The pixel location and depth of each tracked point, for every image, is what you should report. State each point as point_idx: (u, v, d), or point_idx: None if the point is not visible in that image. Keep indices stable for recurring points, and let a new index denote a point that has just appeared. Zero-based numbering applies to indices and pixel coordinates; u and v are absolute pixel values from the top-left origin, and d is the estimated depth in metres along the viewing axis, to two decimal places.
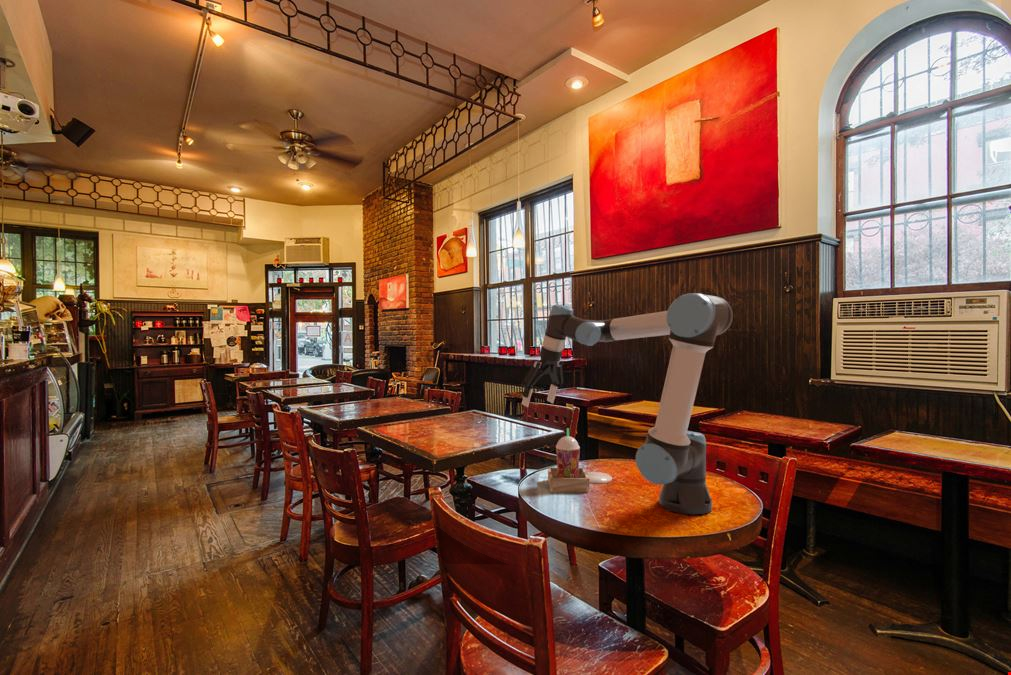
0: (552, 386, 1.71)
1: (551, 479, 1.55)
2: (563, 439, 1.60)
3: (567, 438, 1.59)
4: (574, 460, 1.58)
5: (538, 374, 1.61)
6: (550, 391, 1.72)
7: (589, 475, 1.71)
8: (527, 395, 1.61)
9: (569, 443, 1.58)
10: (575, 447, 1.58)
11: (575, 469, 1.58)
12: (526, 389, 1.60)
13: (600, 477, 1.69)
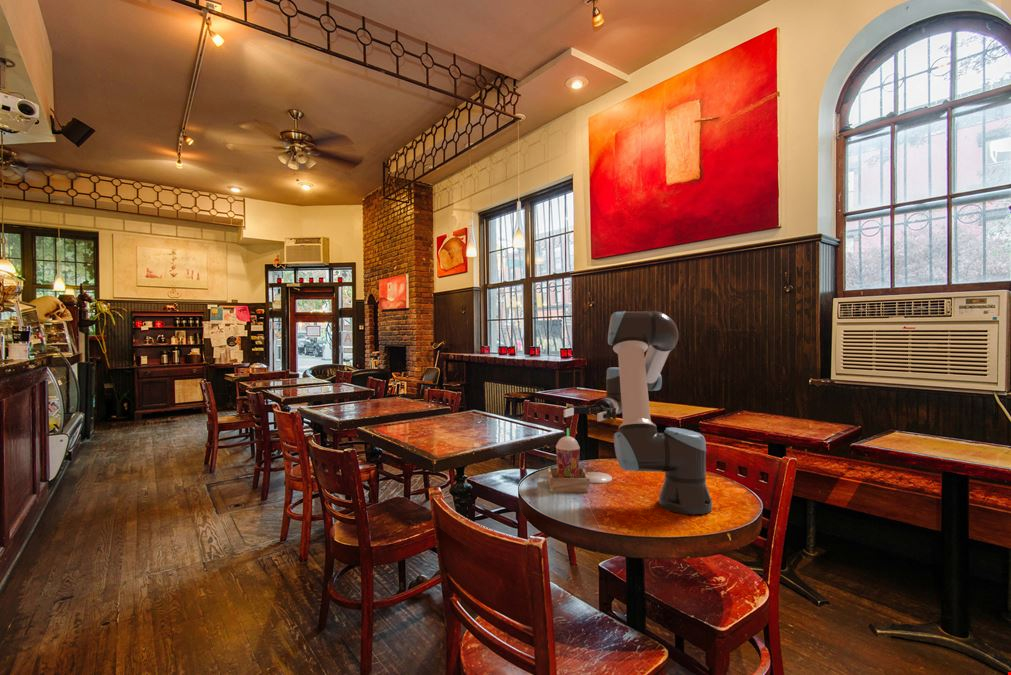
0: None
1: (551, 479, 1.55)
2: (563, 439, 1.60)
3: (567, 438, 1.59)
4: (574, 460, 1.58)
5: None
6: None
7: (589, 475, 1.71)
8: None
9: (569, 443, 1.58)
10: (575, 447, 1.58)
11: (575, 469, 1.58)
12: None
13: (600, 477, 1.69)
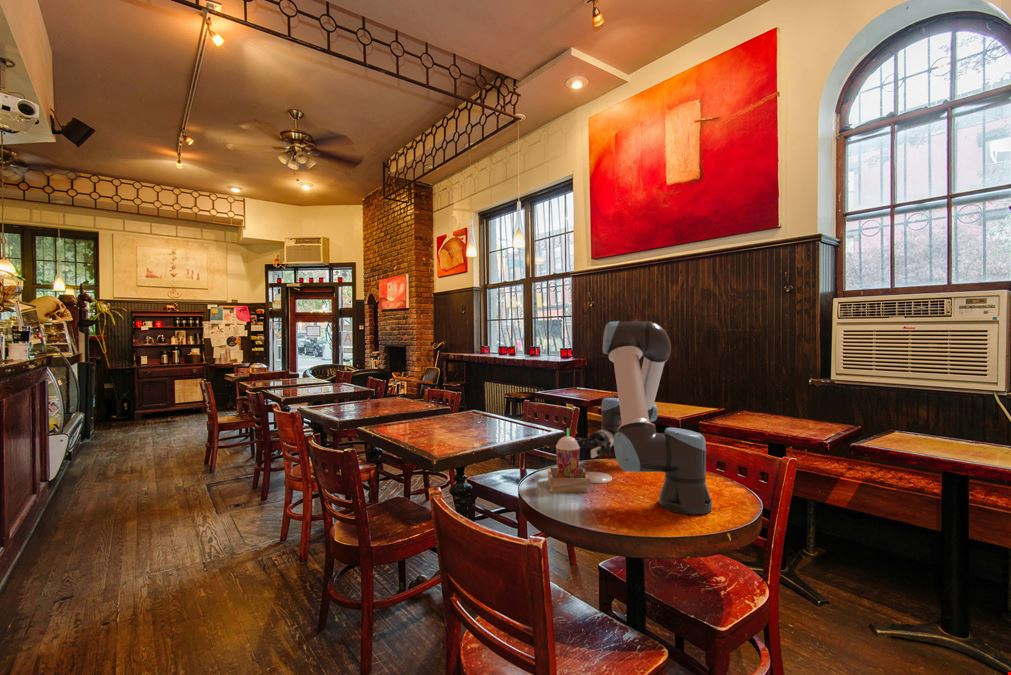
0: None
1: (551, 479, 1.55)
2: (563, 439, 1.60)
3: (567, 438, 1.59)
4: (574, 460, 1.58)
5: None
6: None
7: (589, 475, 1.71)
8: None
9: (569, 443, 1.58)
10: (575, 447, 1.58)
11: (575, 469, 1.58)
12: None
13: (600, 477, 1.69)
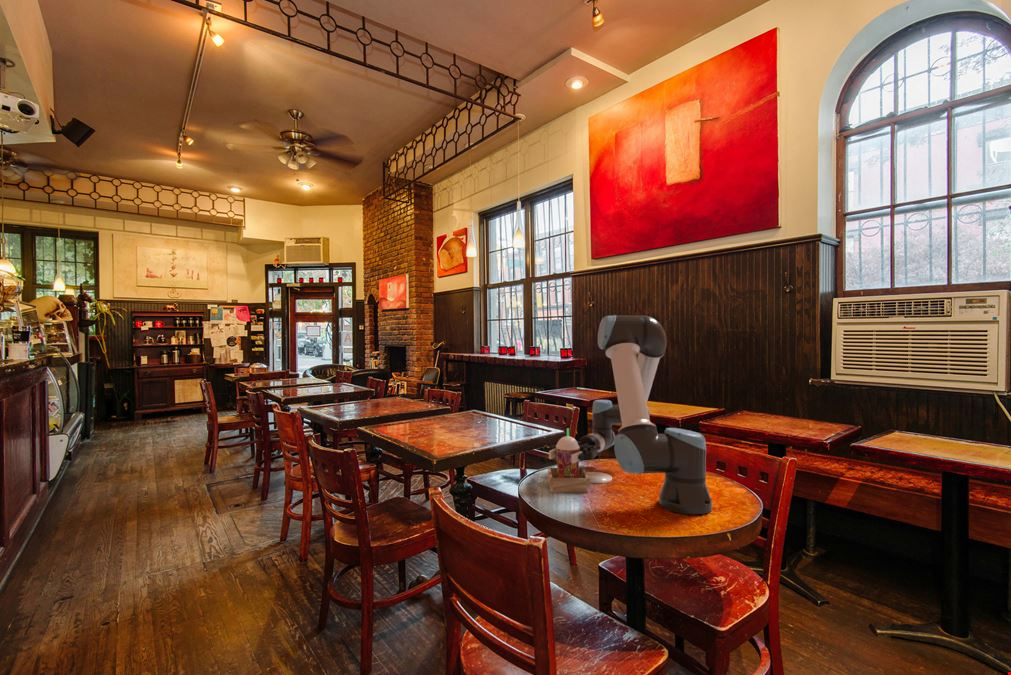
0: None
1: (551, 479, 1.55)
2: (563, 439, 1.60)
3: (567, 438, 1.59)
4: None
5: None
6: None
7: (589, 475, 1.71)
8: None
9: (569, 443, 1.58)
10: (575, 447, 1.58)
11: (575, 469, 1.58)
12: None
13: (600, 477, 1.69)
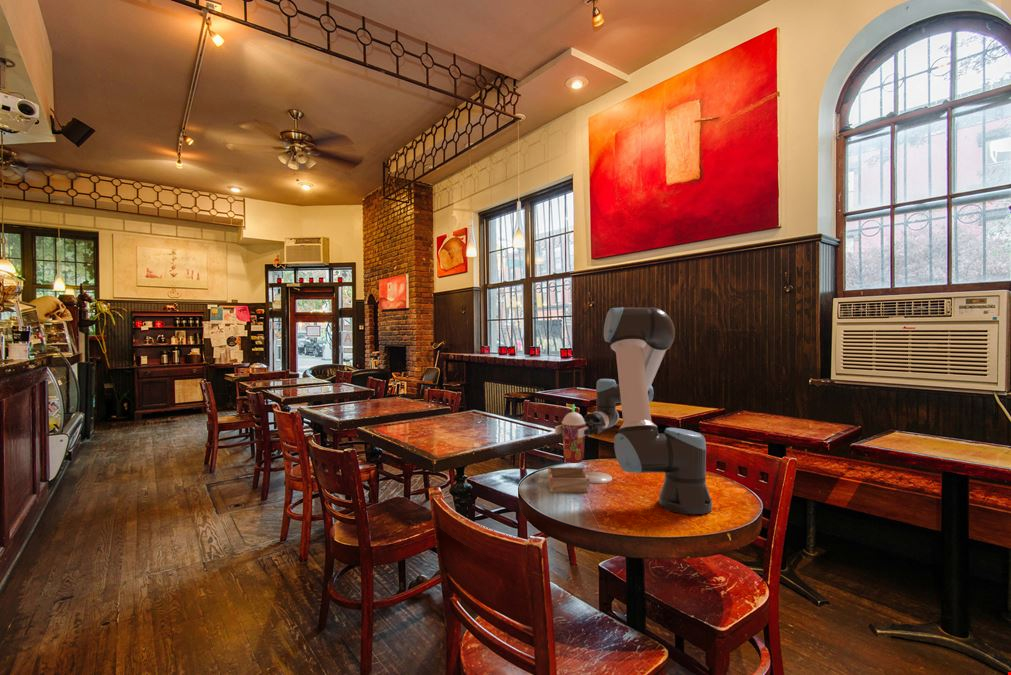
0: None
1: (551, 479, 1.55)
2: (569, 415, 1.61)
3: (573, 414, 1.61)
4: None
5: None
6: None
7: (589, 475, 1.71)
8: None
9: (575, 418, 1.60)
10: (581, 422, 1.60)
11: (581, 444, 1.60)
12: None
13: (600, 477, 1.69)
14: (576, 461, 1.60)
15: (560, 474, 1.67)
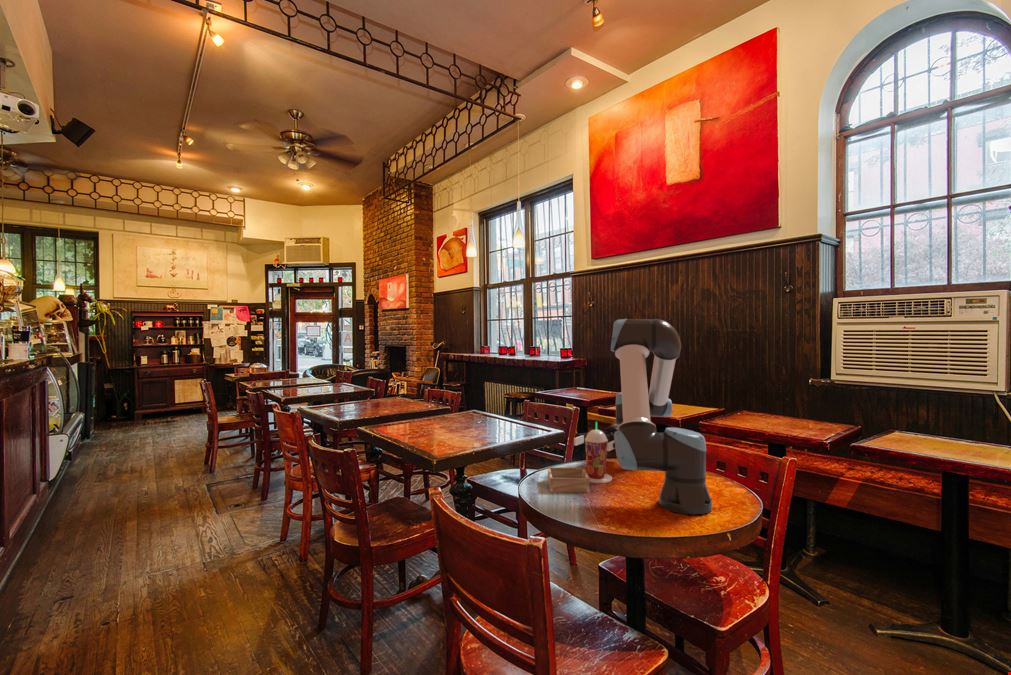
0: None
1: (551, 479, 1.55)
2: (592, 432, 1.68)
3: (596, 431, 1.68)
4: (603, 452, 1.66)
5: None
6: None
7: None
8: None
9: (598, 435, 1.66)
10: (604, 440, 1.66)
11: (604, 460, 1.67)
12: None
13: None
14: (599, 477, 1.67)
15: (560, 474, 1.67)
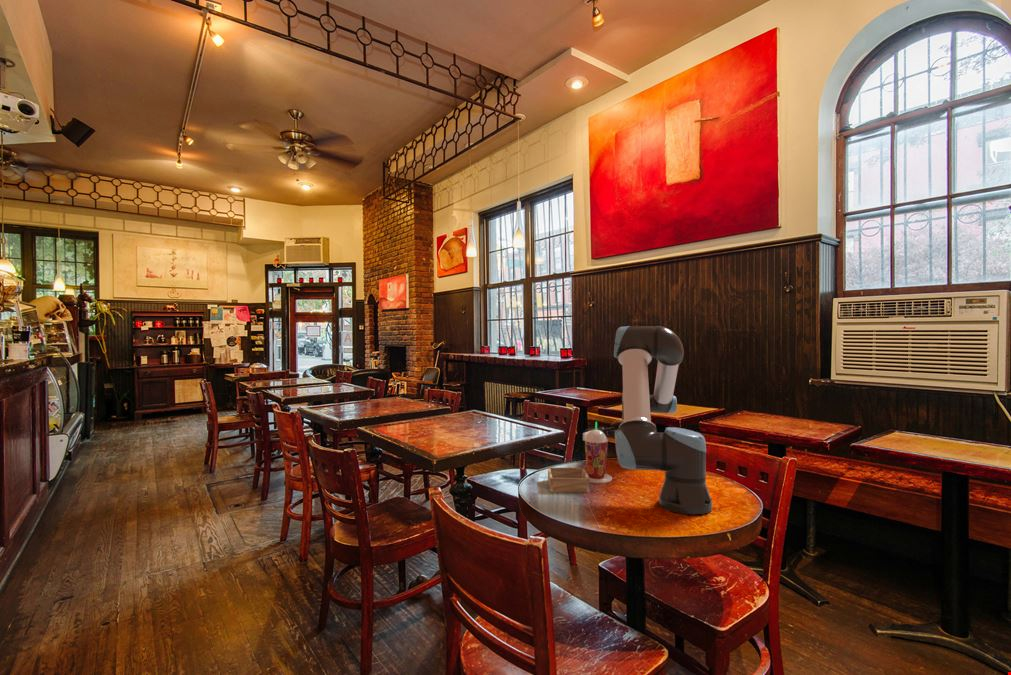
0: None
1: (551, 479, 1.55)
2: (592, 432, 1.68)
3: (596, 431, 1.68)
4: (603, 452, 1.66)
5: None
6: None
7: None
8: None
9: (598, 436, 1.66)
10: (604, 440, 1.66)
11: (603, 461, 1.67)
12: None
13: None
14: (599, 477, 1.67)
15: (560, 474, 1.67)
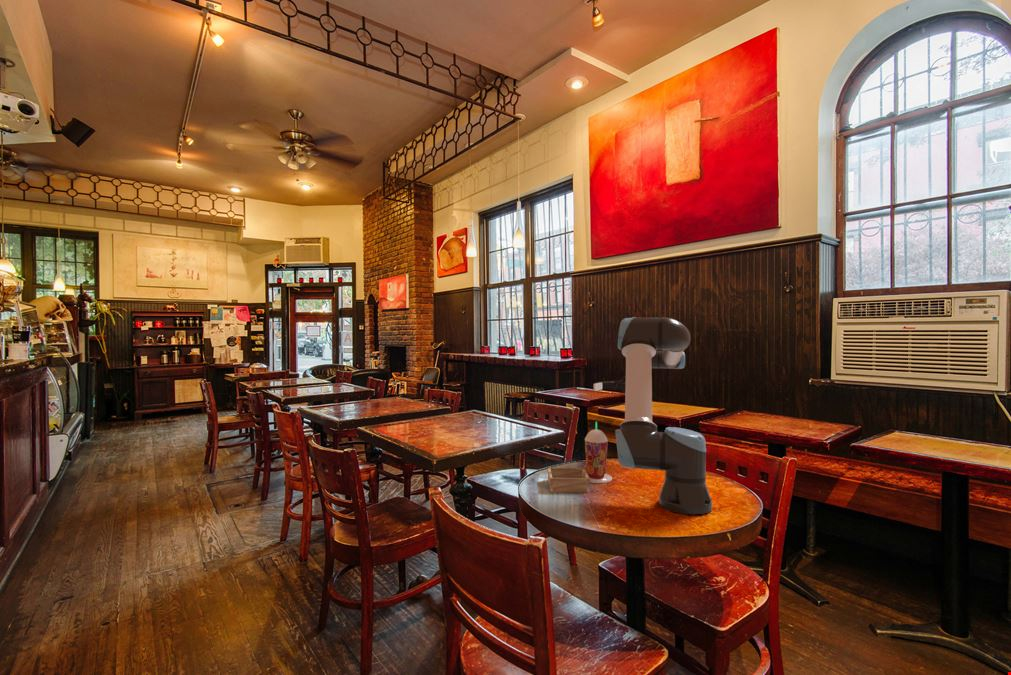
0: None
1: (551, 479, 1.55)
2: (592, 432, 1.68)
3: (596, 431, 1.68)
4: (603, 452, 1.66)
5: None
6: None
7: None
8: None
9: (598, 435, 1.66)
10: (604, 440, 1.66)
11: (603, 461, 1.67)
12: None
13: None
14: (599, 477, 1.67)
15: (560, 474, 1.67)
